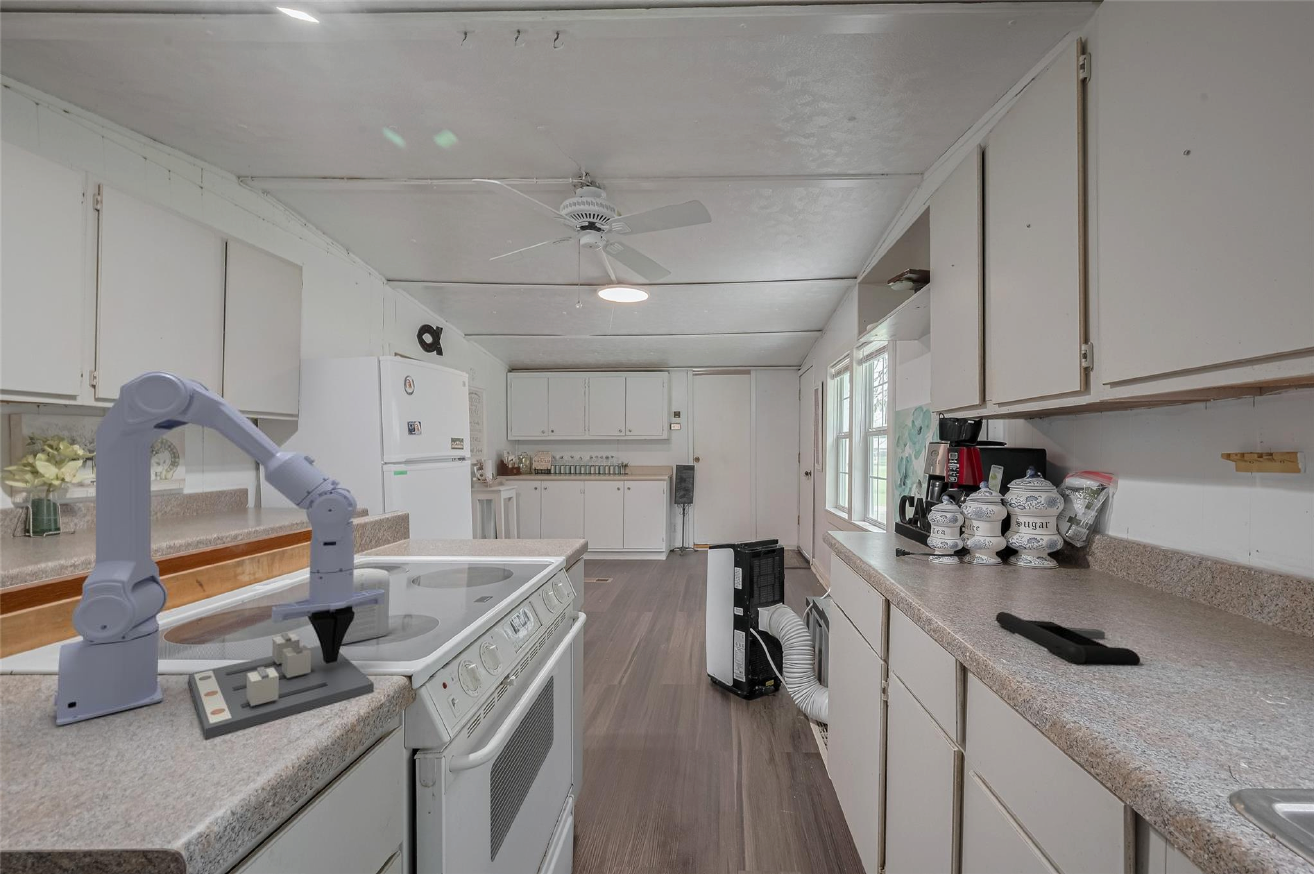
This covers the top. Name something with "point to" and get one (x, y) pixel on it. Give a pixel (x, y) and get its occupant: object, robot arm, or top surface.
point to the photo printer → (369, 606)
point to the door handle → (1067, 641)
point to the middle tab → (296, 660)
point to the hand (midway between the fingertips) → (330, 660)
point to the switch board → (325, 684)
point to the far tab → (283, 645)
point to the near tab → (262, 686)
